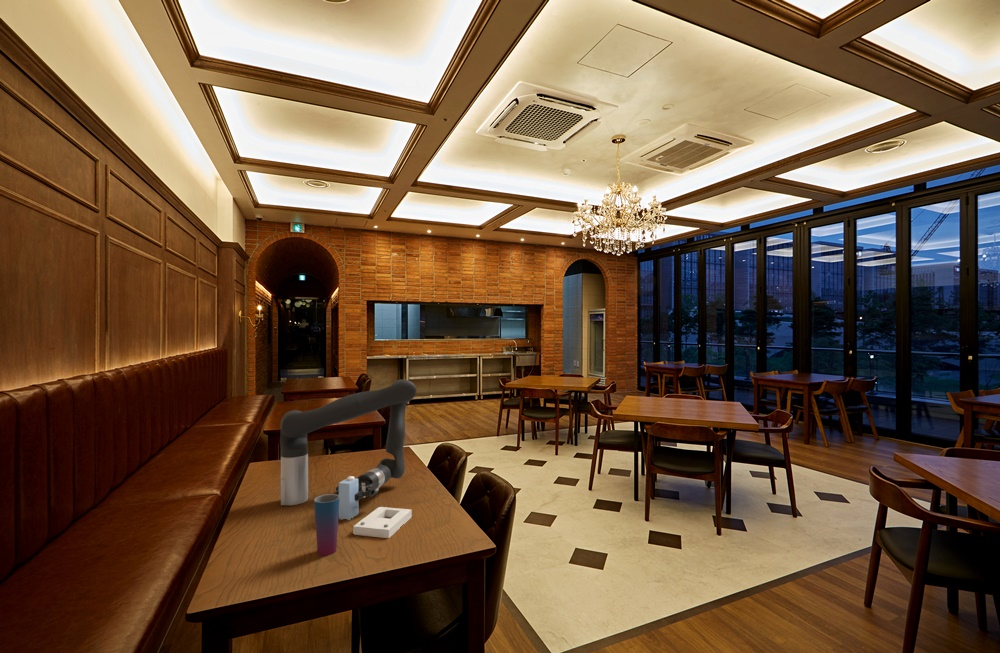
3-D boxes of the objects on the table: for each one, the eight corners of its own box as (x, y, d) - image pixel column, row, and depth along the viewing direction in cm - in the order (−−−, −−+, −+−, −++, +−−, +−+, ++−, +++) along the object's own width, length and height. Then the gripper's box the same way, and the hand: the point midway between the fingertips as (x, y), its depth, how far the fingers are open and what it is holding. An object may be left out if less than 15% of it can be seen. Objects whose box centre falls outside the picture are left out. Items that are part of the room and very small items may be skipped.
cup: (324, 559, 122) (324, 504, 123) (308, 553, 126) (308, 499, 126) (344, 549, 128) (344, 496, 128) (329, 543, 132) (329, 492, 132)
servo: (353, 520, 148) (352, 481, 148) (335, 518, 150) (335, 480, 150) (361, 514, 153) (361, 476, 154) (344, 512, 155) (344, 475, 155)
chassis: (388, 538, 135) (388, 528, 135) (353, 534, 137) (353, 524, 138) (411, 517, 150) (411, 508, 150) (379, 514, 153) (379, 505, 153)
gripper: (353, 470, 167) (326, 484, 151) (388, 472, 164) (364, 487, 148) (353, 490, 167) (326, 506, 151) (388, 492, 164) (364, 510, 148)
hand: (345, 497), depth 150 cm, fingers open, 7 cm apart
